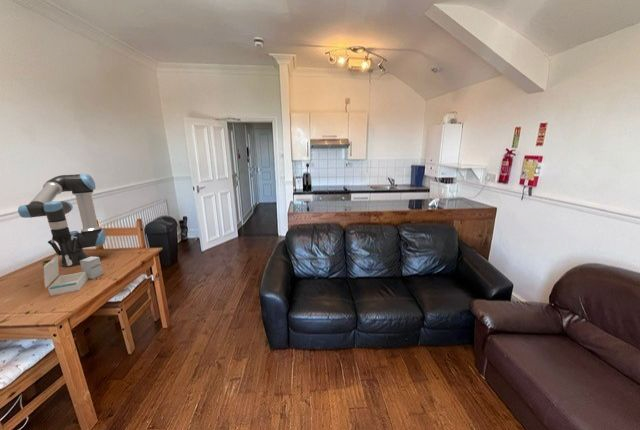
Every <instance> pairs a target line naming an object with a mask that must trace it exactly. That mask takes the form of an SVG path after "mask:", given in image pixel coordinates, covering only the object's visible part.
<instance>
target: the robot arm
mask: <svg viewBox="0 0 640 430" xmlns="http://www.w3.org/2000/svg"><path fill="white" fill-rule="evenodd" d="M94 190H96V182H95V180H94V178H93V176H91V175H90V174H87V173H79V174H63V175H62V174H61V175H57V176H54V177H52V178H50V179H49V180H47V181H45V183H43V185H42V189H41V190H40V191H39V192H38V193H37V194H36V195H35V197H34V198H33V199H32V200H30V202H29V203H27V204H23V205H19V206H18V208H17V212H18V215H19V216H20V217H21V218H24V219H27V218H28V219H29V218H31V219H32V218H39V217H46V219H47V222H48V227H49V228H50V232H51V236H52V237H51V239H50V240H48V241H47V243H48V244H49V245H50V246H51V247H52V249H53V251H54V252H55V254H57V255H58V256H61V258H60V260H61V261H60V264H61V265H60V266H61V267H65V268H67V267H75V266H79V265H81V264H80V260H83V259H86V258H88V257H89V256H88V254H87V253H85V251H84V248H85V249H86V248H93V247H94V248H95V247H99V246H103V245H104V244H105V243H106V240H107V238H106V237H107V235H106V234H107V233H106V230H105V229H102V227H101V226H99V224H98V219H97V215H96V211H95V206H94V205H95V204H94V201H93V197H92V194H93V193H94ZM65 192H71V194H72V195H73V196H75V198H76V204H77V207H78V211H79V216H80V219H81V225H82V229H81V230H80V232H79V231H78V230H73V231H70V229H69V224H68V221H67V217H66V214H68V213H70V212H71V211H73V204H72V203H71V202H70V201H67V200H61V201H59V200H55V201H54V199H55V198H56V197H57V195H59V194H61V193H65ZM57 255H56V256H57Z"/></svg>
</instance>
